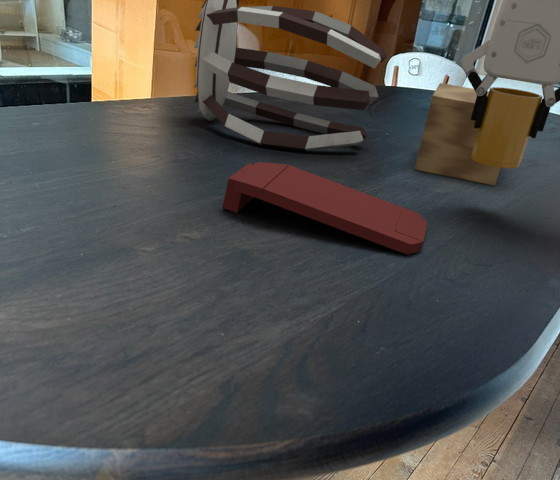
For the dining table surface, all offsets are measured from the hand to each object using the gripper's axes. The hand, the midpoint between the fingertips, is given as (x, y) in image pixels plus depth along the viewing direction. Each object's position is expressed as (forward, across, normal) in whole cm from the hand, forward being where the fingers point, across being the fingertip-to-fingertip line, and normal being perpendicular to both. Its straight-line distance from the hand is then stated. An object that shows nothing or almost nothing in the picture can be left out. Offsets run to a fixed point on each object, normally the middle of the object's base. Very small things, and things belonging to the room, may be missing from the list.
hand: (504, 130), depth 81 cm
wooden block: (+12, -5, +26) cm, 29 cm away
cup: (+4, 0, 0) cm, 4 cm away
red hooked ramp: (+11, -20, -18) cm, 29 cm away
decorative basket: (+11, -39, +22) cm, 46 cm away
